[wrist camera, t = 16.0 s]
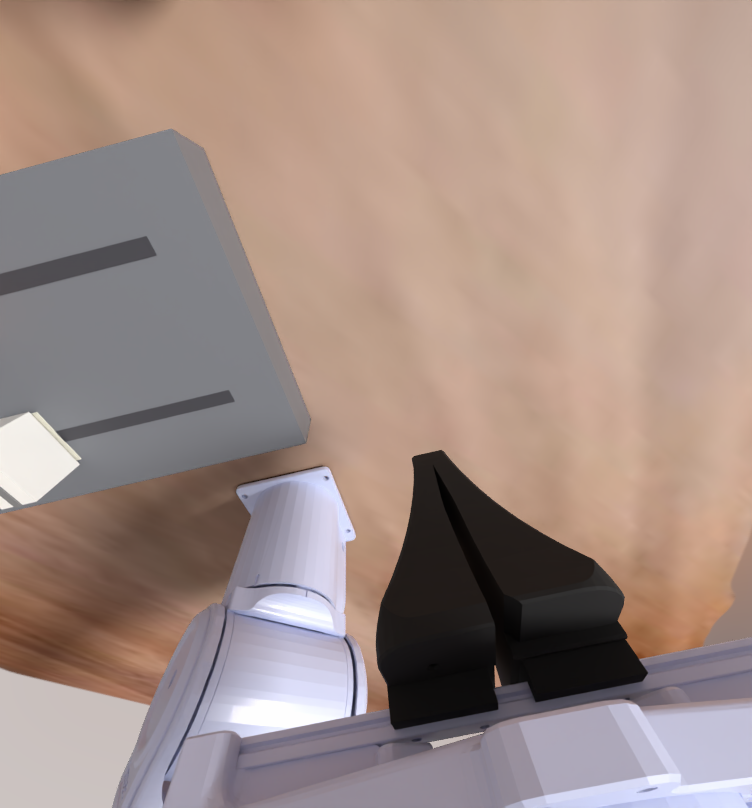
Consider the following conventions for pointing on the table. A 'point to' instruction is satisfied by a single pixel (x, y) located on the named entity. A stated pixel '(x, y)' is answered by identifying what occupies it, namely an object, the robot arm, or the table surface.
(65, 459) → the fader white
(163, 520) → the table surface
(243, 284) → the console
